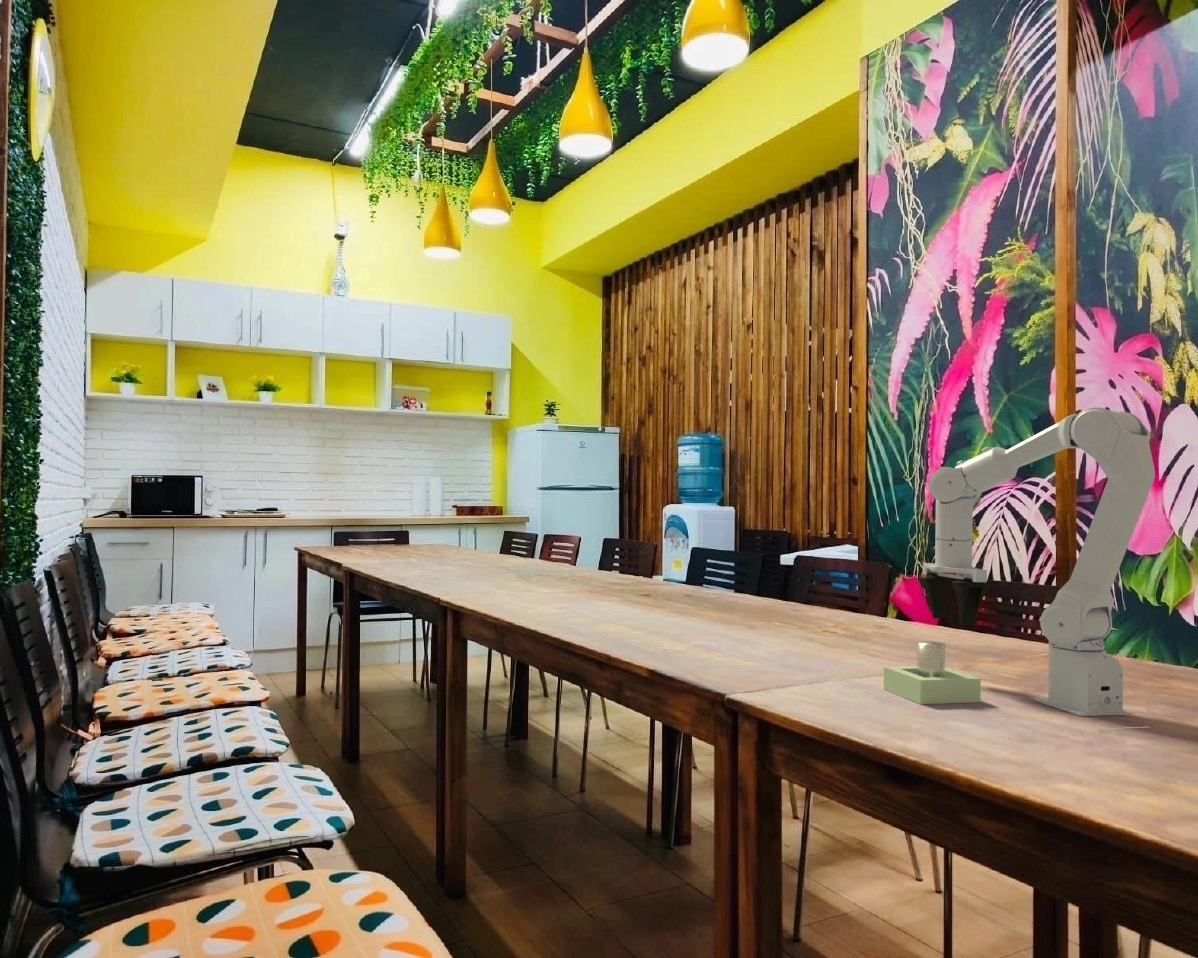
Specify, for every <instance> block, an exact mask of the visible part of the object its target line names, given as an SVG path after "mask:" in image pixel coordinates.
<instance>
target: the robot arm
mask: <svg viewBox="0 0 1198 958" xmlns="http://www.w3.org/2000/svg"><path fill="white" fill-rule="evenodd" d="M1151 435H1152V434H1151V432H1150V430H1149V429H1148V428H1147V427H1146V425H1145V424H1144V423H1143V421H1142V420H1141V419H1140V418H1139V417H1138V416H1136V415H1135V414H1133V413H1130V412H1127V411H1116V410H1111V409H1107V408H1104V407H1097V406H1094V407H1088V408H1086V409H1084V410H1082V411H1080V412H1079V413H1074V414H1071V415H1068V416H1066V417H1064V418H1063V419H1062V420H1060V421H1058V422H1056V423H1055V424H1053V425H1051V426H1049V427H1047V428H1045V429H1043V430H1042V431H1040V432H1038V433H1036V434H1034V435H1032V436H1030V437H1029V438H1027V439H1024V440H1023V441H1021V442H1019V443H1017V444H1016V445H1014V446H1011V447H1010V448H1008V449H1005V448H1003V447H1001V446H994V447H992V446H986V447H983V448H982V449H980V451H981V453H980V454H978V455H976V456H973V457H971V458H970V459H967V460H959V461H957V462H956V465H955V467H954V468H952V467H951V466H950V467H949V466H941V467H940V468H939V469H937V470H935V472H934V473H932V474H931V476H930V478H929V481H928V491H929V493H930V494H931V496H932V498H934V499H935V532H934V533H935V545H934V546H935V547H934V548H935V550H934V551H935V552H934V554H935V555H934V557H935V559H934V562H933V563H932V562H923V563H922V575H925V576H919V578H918V579H919V582H920V584H921V586H922V587H923V590H924V592H925V594H926V597H927V601H928V603H929V604H928V605H929V608H930V612H931V617H932V619H935V620H936V619H938V620H939V619H946V618H947V615H948V614H947V613H948V607H949V606H948V603H949V596H950V593H951V588H952V586H953V589H954V592H955V595H956V599H957V605H958V618H959V623H960V625H961V626H975V623H976V620H977V617H978V614H979V613H978V612H979V609H980V607H981V604H982V601H983V600H984V598H985V596H986V594H987V592H988V591H989V590H990V587H991V583H987V582H988V570H987V569H983V568H978V567H973V519H974V518H973V517H974V515H973V514H974V513H973V510H974V504H975V500H976V499H977V498H978V496H979V495H980V494H981V493H984V492H986V491H989V490H990V489H993V488H995V487H998V486H1000V485H1002V484H1004V483H1006V482H1009V481H1011V480H1013V479H1015V477H1016V475H1017V472H1018V470H1019V469H1020V467H1021V468H1022V467H1024V466H1026V465H1029V464H1030V463H1031V464H1032V463H1034V462H1037V461H1039V460H1041V459H1044V458H1047V457H1049V456H1051V455H1053V454H1057V453H1058V452H1062V451H1064V450H1066V449H1077V450H1079V449H1081V450H1082V451H1084V452H1085V453H1086V454H1088V455H1089V456H1090V457H1091V458H1092V459H1094V460H1095V461H1096V462H1097V463H1098V465H1099V467H1100V468H1101V470H1102V471H1103V473H1104V475H1105V476H1106V478H1107V481H1106V483H1105V487H1104V489H1103V492H1102V495H1101V496H1100V500H1099V503H1098V505H1097V507H1096V510H1095V514H1094V515H1093V518H1092V520H1091V523H1090V526H1089V529H1088V532H1087V533H1086V536H1085V538H1084V539H1085V540H1084V541H1083V545H1082V547H1081V550H1080V552H1079V555H1078V557H1077V561H1076V563H1075V565H1074V568H1073V571H1072V573H1071V576H1070V578H1069V580H1068V581H1067V582H1066V583H1065V584H1064V585H1063V586H1062V587H1061V588H1060V589H1059V590H1058V591H1057V593H1056V596H1055V598H1054V599H1053V601H1052V602H1051V604H1049V605H1048V606H1046V608H1045V609H1044V610H1043V611H1042V613H1041V616H1040V619H1039V622H1040V623H1039V624H1040V629H1041V632H1042V633H1043V635H1044V636H1045V638H1046V639H1047V640H1048V675H1047V676H1048V677H1047V678H1048V682H1047V683H1048V684H1047V685H1048V686H1047V687H1048V688H1047V689H1048V690H1047V692H1048V695H1047V697H1046V696H1045V697H1034V702H1036V703H1037V702H1038V703H1039V704H1043V705H1046V706H1049V707H1051V708H1054V709H1058V710H1061V711H1064V712H1067V713H1070V714H1073V715H1076V716H1079V717H1097V716H1098V717H1100V716H1101V717H1102V716H1124V715H1128V711H1127V710H1124V709H1123V708H1124V706H1123V705H1124V704H1123V703H1124V701H1123V699H1124V698H1123V695H1124V694H1123V693H1124V690H1123V689H1124V688H1123V687H1124V683H1123V682H1124V674H1123V669H1122V668H1123V667H1122V665H1121V663H1120V662H1119V660H1118V659H1117V658H1115V657H1114V656H1112V655H1110V654H1107V651H1106V650H1105V642H1104V639H1105V638H1106V637H1107V636H1108V635H1109V634H1110V633H1111V630H1112V628H1113V620H1112V619H1113V618H1112V608H1113V606H1114V603H1115V600H1114V597H1113V594H1112V591H1111V590H1112V587H1113V586H1114V585H1113V584H1114V583H1115V579H1116V577H1117V574H1118V572H1119V569H1120V567H1121V564H1122V562H1123V560H1124V557H1125V555H1126V551H1127V549H1128V546H1129V544H1130V542H1131V539H1132V536H1133V534H1134V531H1135V529H1136V527H1137V524H1138V521H1139V519H1140V517H1141V514H1142V511H1143V509H1144V506H1145V503H1146V501H1147V499H1148V496H1149V494H1150V491H1151V489H1152V486H1153V483H1154V481H1155V478H1156V471H1155V465H1154V461H1153V456H1152V451H1151V446H1150V439H1151ZM955 579H957V580H955Z"/></svg>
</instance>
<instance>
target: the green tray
mask: <svg viewBox="0 0 1198 958" xmlns="http://www.w3.org/2000/svg"><path fill="white" fill-rule="evenodd" d="M981 679H982V678H980V677H977V676H974V675H971V674H967V673H964V672H962V671H960V670H959V671H958V670H955V669H953V668H949V667H946V666H945V677H925V678H924V677H921V676H919V675H917V665H907V666H905V665H904V666H902V665H901V666H883V690H885V691H888V692H890V693H892V694H895V695H897V696H900V697H902V698H904V699H906V700H909V701H911V702H914V703H916V704H919V705H937V704H941V705H943V704H966V703H981V700H982V699H981V698H982V697H981V691H982V690H981V688H982V687H981V685H982V684H981V683H982V682H981Z"/></svg>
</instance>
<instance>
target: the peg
mask: <svg viewBox="0 0 1198 958" xmlns="http://www.w3.org/2000/svg"><path fill="white" fill-rule="evenodd" d="M916 649H917V651H916V653H917V659H916V662H917V665H916V666H917V675H919V676H921V677H924V678H925V677H945V667H946V643H944V642H940V641H929V640H922V641H921V640H920V641H917V647H916Z"/></svg>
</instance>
